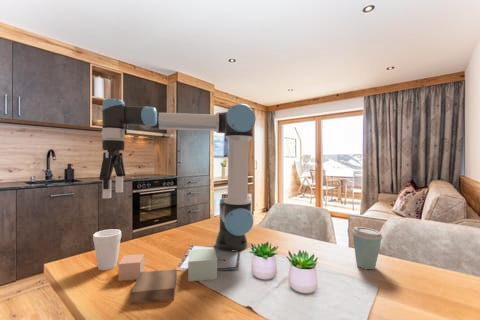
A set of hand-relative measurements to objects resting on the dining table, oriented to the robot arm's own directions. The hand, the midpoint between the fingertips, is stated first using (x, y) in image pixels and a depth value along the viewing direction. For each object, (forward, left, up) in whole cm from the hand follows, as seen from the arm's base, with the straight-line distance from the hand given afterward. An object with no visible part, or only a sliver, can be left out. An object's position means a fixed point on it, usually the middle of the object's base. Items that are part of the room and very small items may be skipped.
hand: (113, 195), depth 92 cm
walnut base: (-19, +21, -28) cm, 40 cm away
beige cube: (-9, +9, -28) cm, 30 cm away
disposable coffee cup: (-98, +18, -28) cm, 103 cm away
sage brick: (-34, +12, -28) cm, 45 cm away
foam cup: (+2, 0, -28) cm, 28 cm away
